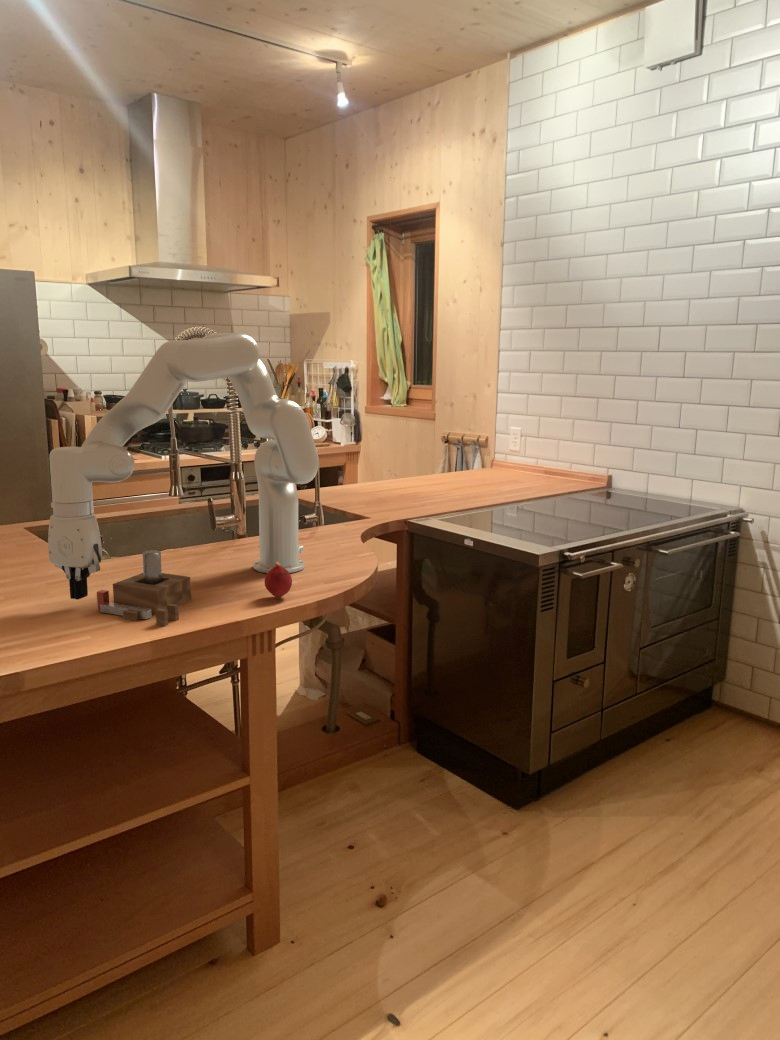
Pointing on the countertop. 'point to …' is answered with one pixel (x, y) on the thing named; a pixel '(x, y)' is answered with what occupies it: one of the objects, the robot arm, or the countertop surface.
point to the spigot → (152, 567)
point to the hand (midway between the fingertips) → (79, 597)
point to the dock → (153, 596)
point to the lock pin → (118, 606)
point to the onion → (278, 581)
